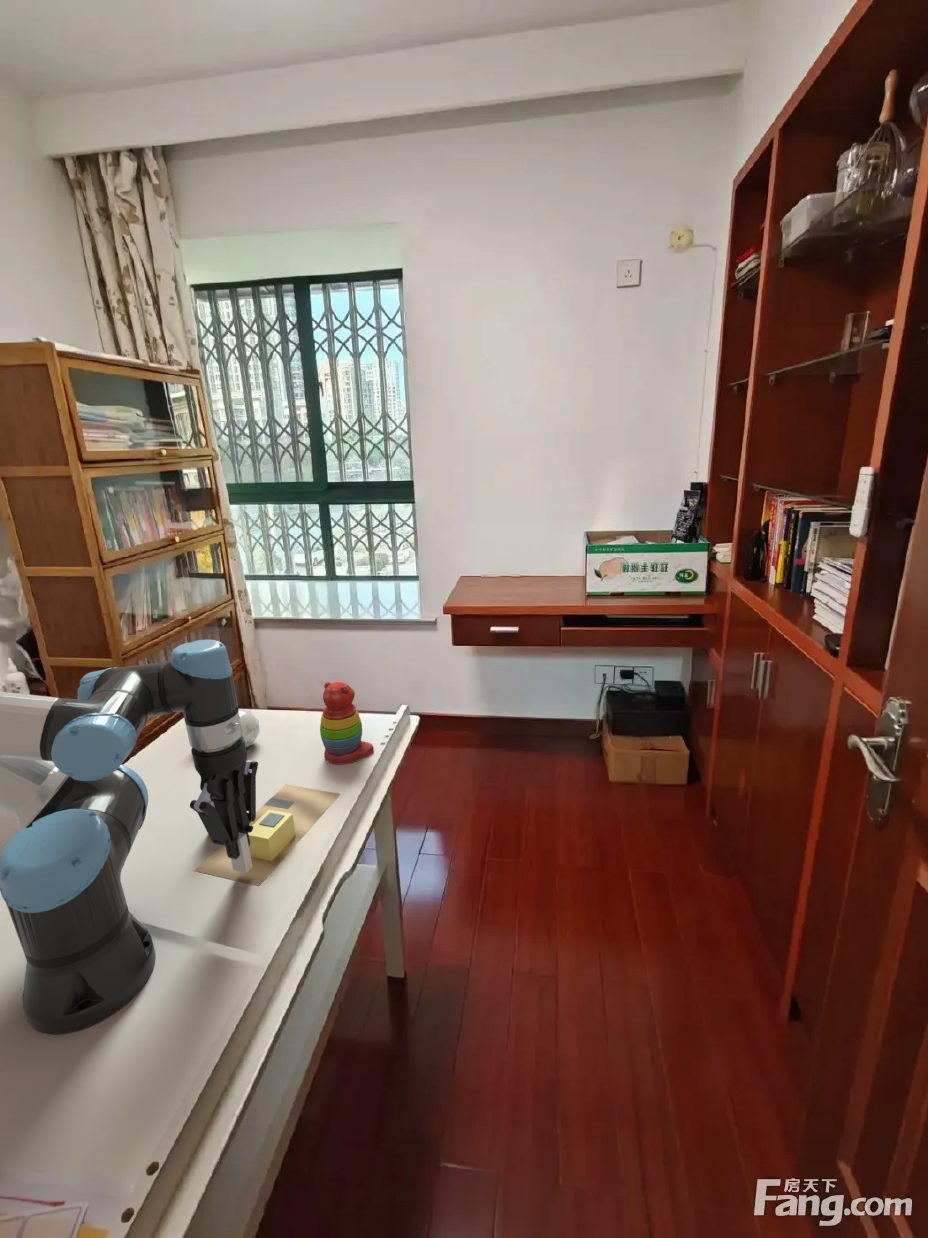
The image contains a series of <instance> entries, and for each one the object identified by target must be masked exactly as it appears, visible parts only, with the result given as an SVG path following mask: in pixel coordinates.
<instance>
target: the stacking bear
mask: <svg viewBox="0 0 928 1238" xmlns="http://www.w3.org/2000/svg"><path fill="white" fill-rule="evenodd" d="M323 688H324V690H323V693H322V699H323V702H324V703H323V704H324V706H325V707H324V709H323V711H322V713H321V718H320V724H319V732H320V737H321V738H320V739H321V741H322V743H323V746H324V754H323V755H324V756H323V757H324V759H325V761H327V763H329V764H334V765H346V764H351V763H355V762H358V761H360V760H362V759H365V758H366V757H368V756H369V755H371V754H372V753H373V752H374V750H375V748H374V745H373V744H372V743H370V742H367V741H364V740H362V736H363V723H362V719H361V717H360V714H359V712H358V709H357V707H356V705H354V704H353V702H354V699H355V696H356V695H355V693H356V692H355V690H354V689H353V688H352V687H351V686H349V684H348V683H345V682H342V681H334V682H332V683H331V682H329V681H326V682H325V683H324V685H323Z"/></svg>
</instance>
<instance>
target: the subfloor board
mask: <svg viewBox="0 0 928 1238" xmlns="http://www.w3.org/2000/svg"><path fill="white" fill-rule="evenodd" d="M340 796H341V793H339V792H333V791H326V790H321V789H314V788H308V787H302V786H297V785H292V784H291V785H290V784H284V785H283V786H282V787H281V788H280V789H279V790H278V791H277V792H276V793H274V794H273V796H272V797H271V798H269V799H268V800H267V801H266V802H265V803H264V804H263V805H262V806H261V807H260V808H259V809H258V810H256V818H255V820H254V821H253V822H252V821H251V822H250V824H249V826H252V825H253V824H254V823H255V822H256V821H257V820H258V819H259V818H261V817H262V816H263V815H264V814H265V813H266V812H267V811H268V810H274V811H280V812H285V813H290V814H293V821H294V827H295V834H296V835H295V836H294V838H293V839H292V840H291V841H290V842H289V843H288V844H287V845H286V846H285V847H284V849H283V850H282V851H281V852H280V853H279V854H278V855H277V856H276V857H275V859H274V860H273V861H269V860H264V859H260V858H255V857H251V861H252V866H253V867H252V868H251V869H250V870H249V871H248V872H247V873H244V872H239V871H235V870H233V867H232V862H231V858H229V857H228V856H227V851H226V846H223V845H219V847H218V848H216V850H214V851H213V852H212V853H211V854H210V855H209V856H208V857H206V859H205V860H204V861H203V862H202V863H200V865H198V866H197V868H195V869H194V872H197V873H201V874H204V875H209V876H210V875H211V876H215V877H218V878H222V879H226V880H227V879H228V880H232V881H235V882H239V883H244V884H248V885H252V886H256V887H260V886H261V885H262V884H263V882H264V881H266V879H267V878H268V877H269V875H271V874H272V872H273V871H275V869H276V868H277V867H278V866H279V865H280V863H282V861H283V860H284V859H285V858H286V857H287V855H288V854H290V852H291V851H292V850H293V849H294V848H295V846H296V845H297V844H298V843H299V842H300V841H301V840H302V838H303V837H304V836H305V835H306V834H307V833H308V832H309V830H310V829H311V828H312V827H313V826H314V825H315V824H316V823H317V821H319V819H320V818H321V817H322V816H323V815H324V813H326V811H327V810H328V809H329V808H330V807H331V806H332V805H333V804H334V802H335V801H336V800H337V799H338V798H339V797H340Z"/></svg>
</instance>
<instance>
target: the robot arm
mask: <svg viewBox="0 0 928 1238" xmlns="http://www.w3.org/2000/svg"><path fill="white" fill-rule="evenodd" d="M170 657H171V658H170V660H167V661H162V662H154V663H146V664H144V663H143V664H138V665H129V666H122V667H117V666H115V667H108V668H105V669H101V670H95V671H92V672H91V671H90V672H88V673H86V674H85V675H83V677H82V678H81V679H80V680H79V687H78V688H77V699H75V698H74V699H73V698H65V697H64V698H63V697H56V696H55V697H53V696H46V695H36V694H26V693H18V692H8V691H0V809H2V810H4V811H6V812H9V813H10V814H13V815H14V817H15V818H16V823H17V831H18V832H17V833H16V834H15V835H14V836H13V837H12V838H11V839H9V841H8V842H7V844H6V845H5V846H4V847H3V849H2V852H0V895H1V898H2V899H3V901H4V902H5V905H6V907H7V909H8V913H9V915H10V917H11V918H10V919H11V920H12V923H13V926H14V928H15V933H16V935H17V937H18V940H19V942H20V945H21V946H20V947H21V949H22V952H23V953H24V958H25V960H26V964H25V972H24V973H25V974H24V983H23V985H24V986H23V991H22V997H21V1001H22V1007H23V1011H24V1014H25V1016H26V1019H27V1020H28V1021H27V1022H28V1023H29V1025H30V1026H31V1027H32V1028H33V1029H34V1030H35V1031H36V1030H37V1031H39V1032H41V1033H45V1034H50V1035H51V1034H52V1035H54V1034H55V1035H56V1034H58V1035H60V1034H66V1033H67V1034H68V1033H73V1032H76V1031H79V1030H83V1029H85V1028H88V1027H90V1026H92V1025H95V1024H97V1023H99V1022H101V1021H103V1020H104V1019H106V1018H108V1017H110V1016H111V1015H112V1014H114V1013H116V1012H117V1011H118V1010H120V1009H122V1008H123V1007H124V1006H125V1005H126V1004H127V1003H128V1002H129V1001H131V1000H132V999H133V997H135V996H136V995H137V994H138V993H139V991H140V990H141V989H142V988H143V987H144V985H145V984H146V982H147V981H148V980H149V978H150V976H151V974H152V973H153V969H154V967H155V963H156V950H155V946H154V943H153V939H152V936H151V935H150V933H149V932H148V930H147V929H146V928H145V927H144V926H143V924H141V922H140V921H139V920H138V919H137V918H136V917H135V916H134V915H133V913H131V912H130V910H129V907H128V903H127V900H126V896H125V891H124V888H123V885H122V880H121V877H122V870H123V868H124V866H125V863H126V861H127V858H128V856H129V854H130V852H131V851H132V848H133V845H134V842H135V840H136V838H137V836H138V833H139V831H140V830H141V828H142V826H143V824H144V822H145V819H146V816H147V809H148V806H149V805H148V804H149V793H148V792H149V791H148V788H147V785H146V784H145V781H144V780H143V778H142V777H141V776H140V775H139V774H138V773H137V772H136V771H135V770H134V769H132V768H131V767H128V766H126V765H125V764H123V763H124V762H125V760H126V759H127V758H128V757H129V756H130V754H131V753H132V752H133V749H134V748H135V746H136V744H137V740H138V739H139V736H140V734H141V732H142V730H143V729H144V727H145V726H146V724H147V723H148V721H149V719H150V717H156V716H162V715H169V714H174V713H178V712H181V713H182V714H183V718H184V722H185V728H186V732H187V738H188V741H189V742H188V743H189V746H190V747H191V756H192V761H193V766H194V769H195V771H196V772H197V773H198V774H199V776H200V784H199V788H200V791H201V792H200V793H199V796H198V797H197V799H192V800H191V801H190V803H189V807H190V808H191V810H193V811H194V812H196V813H197V815H198V817H199V818H200V821H201V823H202V824H203V826H204V828H205V831H206V832H207V835H208V836H209V838H210V841H212V843H213V844H214V845H219V846H221V845H223V846H226V851H227V856H228V857H229V858H231V862H232V867H233V870H235V871H239V872H244V873H247V872H248V871H249V870H250V869H251V868H252V867H253V866H252V861H251V856H250V851H249V846H250V839H249V834H248V832H249V833H250V832H252V830H253V826H249V824H250V822H251V821H252V822H253V821H254V820H255V818H256V812H257V798H256V797H257V793H256V792H257V791H256V790H257V788H256V787H257V786H256V784H257V782H256V781H257V778H256V777H257V772H258V768H259V763H258V761H254V760H247V758H248V752H247V747H246V746H245V740H244V737H243V735H242V726H241V721H240V715H239V710H240V709H239V705H238V698H237V692H236V686H235V681H234V674H233V668H232V665H231V662H230V658H229V654H228V650H227V647H226V645H224V643H222V642H221V641H218V640H216V639H198V640H193V641H190V642H186V643H182V644H180V645H178V646H176V647H175V648H173V649H172V651H171V654H170ZM210 798H211V799H210ZM213 804H214V805H215V808H214V807H213Z"/></svg>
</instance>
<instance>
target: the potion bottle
mask: <svg viewBox="0 0 928 1238" xmlns="http://www.w3.org/2000/svg"><path fill="white" fill-rule="evenodd" d="M238 710H239V715H240V721H241V726H242V735H243V737H244V740H245V746H246V748H248V747H250V746H252V745H253V744H255V742H256V740H257V738H258V737H259V735H260V733H261V730H260V723H259V719H258V718H257V717H256V716H255V715H254V714H253V713H252V712H251V711H250V710H244V709H238Z"/></svg>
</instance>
